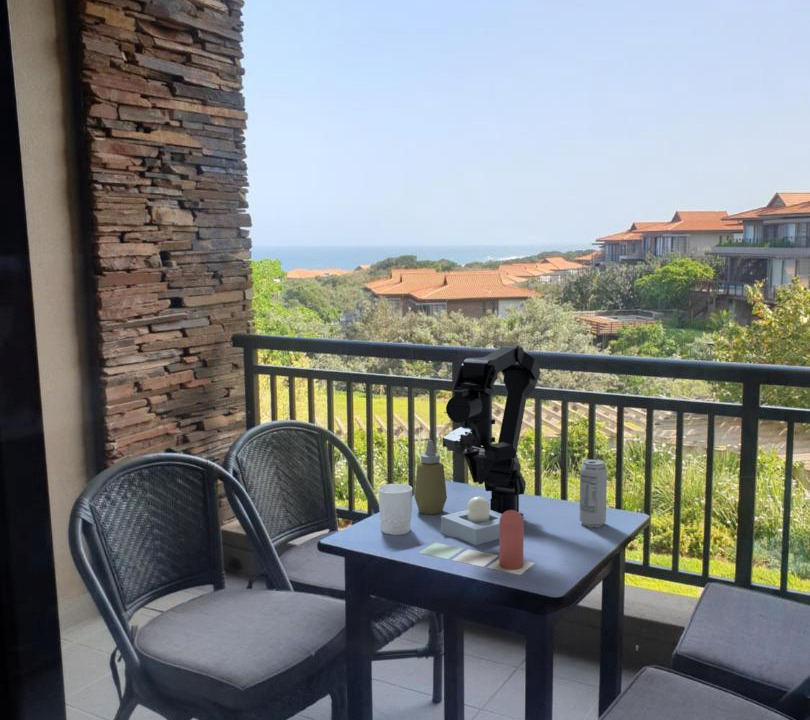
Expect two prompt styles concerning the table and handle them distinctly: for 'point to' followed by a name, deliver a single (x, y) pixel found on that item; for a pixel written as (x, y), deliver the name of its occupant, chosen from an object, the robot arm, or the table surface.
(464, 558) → the track
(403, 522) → the white cup
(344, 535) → the table surface
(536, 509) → the table surface
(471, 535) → the button box
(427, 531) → the table surface
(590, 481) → the energy drink can
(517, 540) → the red domed cylinder
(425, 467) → the squeeze bottle
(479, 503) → the plunger
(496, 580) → the table surface
